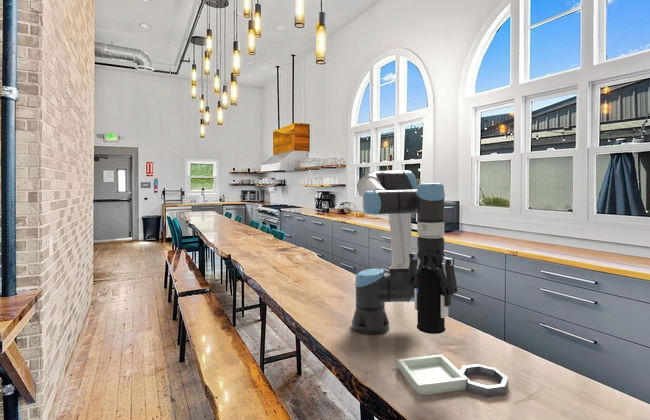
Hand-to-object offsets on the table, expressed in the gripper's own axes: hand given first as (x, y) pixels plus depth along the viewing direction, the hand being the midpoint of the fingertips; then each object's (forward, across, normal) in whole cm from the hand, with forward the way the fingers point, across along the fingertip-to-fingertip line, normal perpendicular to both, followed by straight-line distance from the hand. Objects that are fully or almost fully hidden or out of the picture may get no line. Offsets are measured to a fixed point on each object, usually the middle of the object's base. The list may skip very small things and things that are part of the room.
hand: (431, 312), depth 106 cm
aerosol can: (+5, 0, 0) cm, 5 cm away
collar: (+20, +12, +8) cm, 25 cm away
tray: (+20, 0, 0) cm, 20 cm away
